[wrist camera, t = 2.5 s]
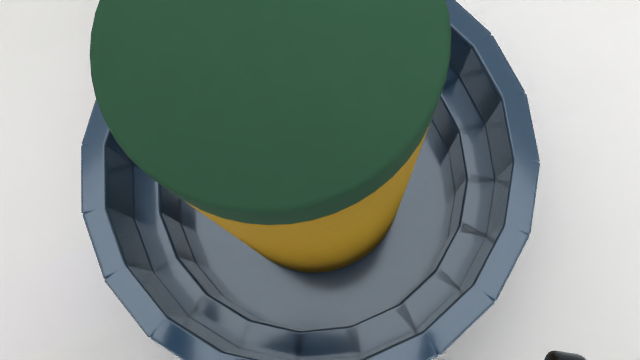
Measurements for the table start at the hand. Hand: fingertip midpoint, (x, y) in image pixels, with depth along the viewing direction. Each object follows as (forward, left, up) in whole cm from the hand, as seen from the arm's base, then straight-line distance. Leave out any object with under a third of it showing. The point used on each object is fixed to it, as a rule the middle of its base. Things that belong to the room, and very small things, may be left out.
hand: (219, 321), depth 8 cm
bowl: (+4, -1, -12) cm, 13 cm away
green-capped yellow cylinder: (+4, -1, -11) cm, 12 cm away
